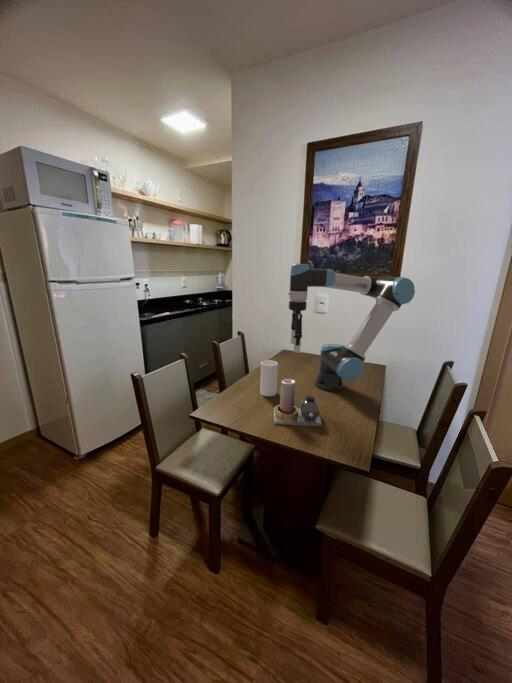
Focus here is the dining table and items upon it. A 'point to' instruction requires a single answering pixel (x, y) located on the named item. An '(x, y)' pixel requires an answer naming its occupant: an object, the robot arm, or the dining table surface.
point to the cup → (268, 378)
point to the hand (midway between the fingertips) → (295, 347)
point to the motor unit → (300, 414)
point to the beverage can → (287, 396)
